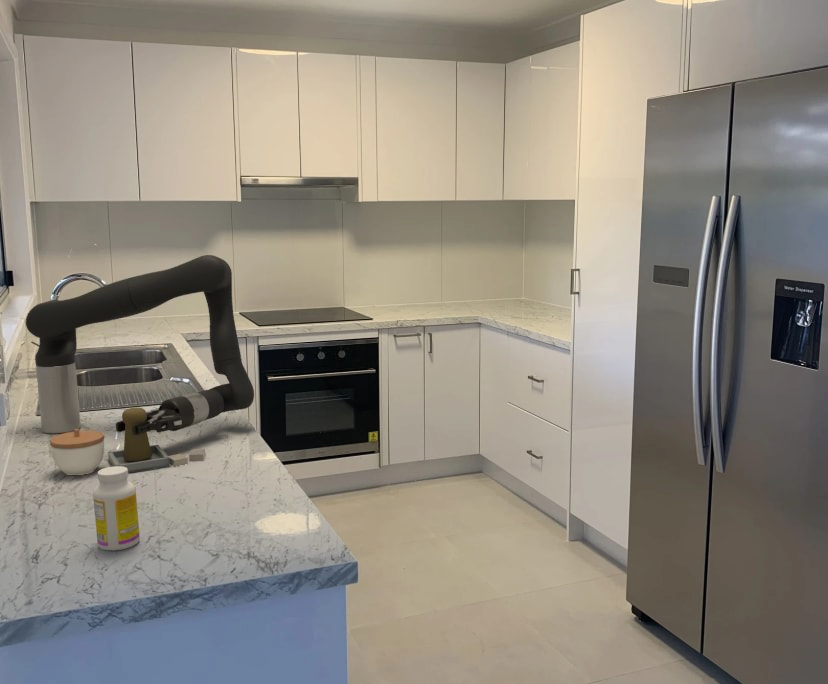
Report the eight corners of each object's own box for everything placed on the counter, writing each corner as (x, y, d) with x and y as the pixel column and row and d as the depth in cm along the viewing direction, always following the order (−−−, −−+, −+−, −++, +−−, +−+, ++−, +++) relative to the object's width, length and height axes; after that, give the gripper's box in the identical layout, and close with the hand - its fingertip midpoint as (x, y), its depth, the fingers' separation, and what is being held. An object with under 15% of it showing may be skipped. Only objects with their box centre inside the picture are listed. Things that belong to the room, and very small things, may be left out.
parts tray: (108, 460, 181) (107, 451, 180) (158, 452, 186) (158, 444, 185) (117, 475, 170) (116, 466, 170) (170, 466, 175) (169, 457, 175)
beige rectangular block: (192, 457, 183) (191, 449, 183) (205, 456, 183) (205, 449, 183) (189, 462, 179) (189, 454, 179) (203, 462, 180) (202, 454, 179)
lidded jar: (49, 482, 167) (45, 438, 165) (57, 466, 177) (53, 425, 175) (104, 476, 169) (100, 433, 168) (108, 462, 180) (105, 421, 178)
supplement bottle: (144, 535, 138) (139, 463, 136) (132, 551, 131) (127, 476, 129) (105, 536, 138) (99, 464, 136) (91, 552, 131) (85, 477, 129)
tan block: (167, 464, 178) (167, 456, 178) (180, 461, 180) (180, 453, 180) (174, 468, 175) (174, 460, 175) (187, 465, 177) (187, 457, 177)
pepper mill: (142, 450, 183) (138, 403, 181) (157, 455, 179) (153, 407, 177) (118, 457, 179) (113, 409, 177) (133, 462, 175) (129, 413, 173)
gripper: (162, 392, 193) (102, 408, 178) (205, 399, 185) (146, 416, 171) (164, 422, 194) (105, 441, 180) (207, 430, 187) (148, 450, 172)
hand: (125, 429), depth 175 cm, fingers open, 4 cm apart
